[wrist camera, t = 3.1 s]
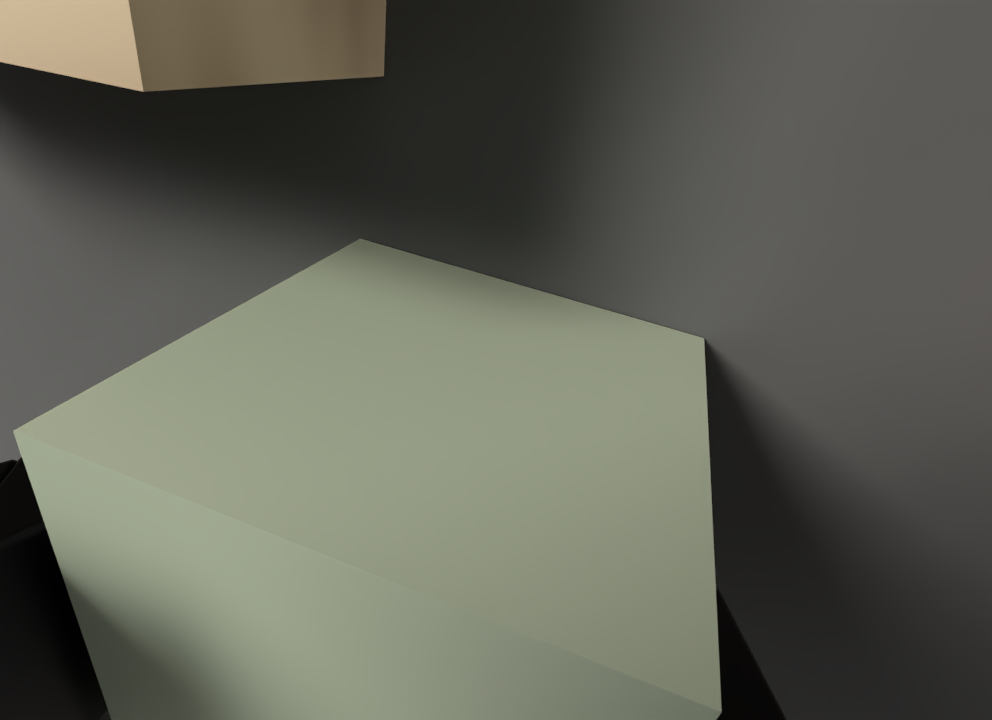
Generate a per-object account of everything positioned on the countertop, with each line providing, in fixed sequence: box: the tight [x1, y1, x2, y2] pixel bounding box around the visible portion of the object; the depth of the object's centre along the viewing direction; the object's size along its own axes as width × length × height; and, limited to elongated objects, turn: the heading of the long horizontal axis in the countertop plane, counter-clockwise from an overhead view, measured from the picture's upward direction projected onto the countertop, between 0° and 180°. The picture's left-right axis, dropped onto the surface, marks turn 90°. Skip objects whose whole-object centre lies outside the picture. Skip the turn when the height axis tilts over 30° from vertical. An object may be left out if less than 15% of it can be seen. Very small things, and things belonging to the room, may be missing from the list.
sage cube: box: [13, 239, 722, 720], centre depth 7 cm, size 5×5×5 cm
